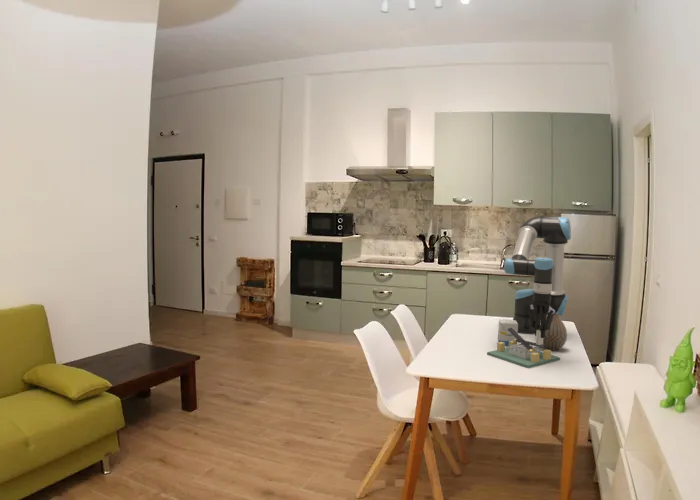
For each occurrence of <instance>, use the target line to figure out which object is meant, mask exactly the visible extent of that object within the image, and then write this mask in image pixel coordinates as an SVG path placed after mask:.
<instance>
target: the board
mask: <svg viewBox="0 0 700 500" xmlns="http://www.w3.org/2000/svg"><path fill="white" fill-rule="evenodd" d="M496 344H497V345H496V349H494V350H491V351H490V350H489V351H487V352H486V355H487V356H489V357H493V358H495V359H498V360H503V361H505V362H508V363H510V364H514V365H517V366H519V367H523V368H526V369H531V368H534V367H538V366H541V365H546V364H549V363H553V362H557V361H560V360H561V356H556V355H553V354H552V350H548V349H544V350H542V351H540V350H538V346H533V345H530V346H531V347H532V348H533V349H535V351H532V352H529V350H528V349H527V348H526V347H525V346H524V345H523V344H521V343H518V342H513V341H509V346H507V347H506V346H505V343H504V342H498V341H497V342H496Z"/></svg>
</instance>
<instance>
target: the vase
mask: <svg viewBox="0 0 700 500" xmlns="http://www.w3.org/2000/svg"><path fill="white" fill-rule="evenodd" d="M546 320H547V316H546ZM540 327H541V323H540ZM567 338H568V331H567V328H566V325H565V323H564V322H563V321H562V319H561V318H560V316H559V315H558V313H554V315H553V319H552V322H551V326H550V329H549V330H546V331H545V338H543V345H544V347H543V348H544V350H547V349H548V350H551V351H559V350H560V349H561V348H563V347H564V346H565V344H566V342H567Z"/></svg>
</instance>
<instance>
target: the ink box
mask: <svg viewBox="0 0 700 500" xmlns="http://www.w3.org/2000/svg"><path fill="white" fill-rule="evenodd" d="M508 328H512V329H513V330H514V331H515V332H516V333H517V334H518V333H519V332H518V323H517V322H516V320H513V319H503V318H502V319H501V318H500V319H498V331H497V332H498V333H497V343H498V342H504V343H505V347H509V341H513V340H515V339H516V338H515V337H514V336H513V335H512V334H511V333H510V332H509V331H508Z"/></svg>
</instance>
